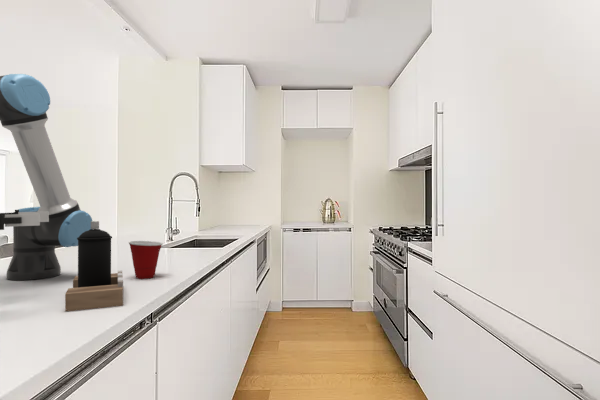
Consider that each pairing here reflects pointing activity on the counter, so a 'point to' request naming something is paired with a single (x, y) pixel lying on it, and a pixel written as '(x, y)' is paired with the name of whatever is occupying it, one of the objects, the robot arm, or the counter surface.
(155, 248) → the plastic cup
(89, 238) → the aerosol can
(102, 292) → the cutout stand
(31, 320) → the counter surface
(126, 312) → the counter surface
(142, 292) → the counter surface
